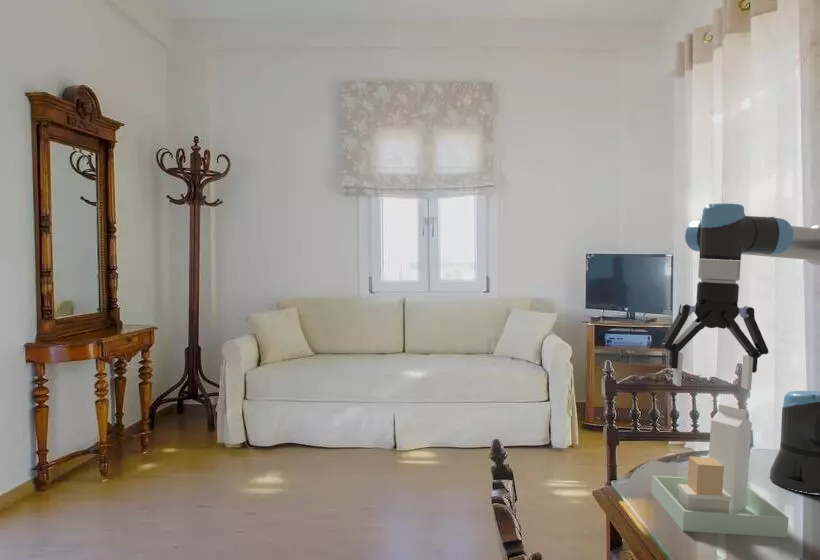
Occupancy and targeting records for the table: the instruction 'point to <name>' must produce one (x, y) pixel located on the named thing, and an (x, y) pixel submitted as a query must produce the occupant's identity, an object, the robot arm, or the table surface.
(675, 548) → the table surface
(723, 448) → the milk
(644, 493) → the table surface
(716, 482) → the box
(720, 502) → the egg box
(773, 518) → the tray
